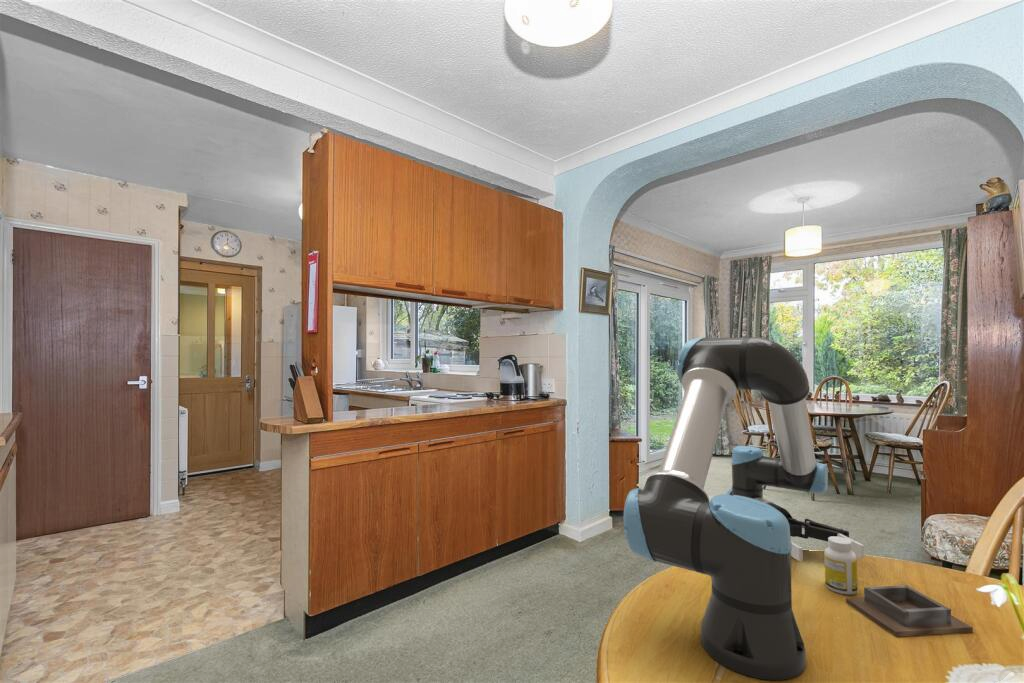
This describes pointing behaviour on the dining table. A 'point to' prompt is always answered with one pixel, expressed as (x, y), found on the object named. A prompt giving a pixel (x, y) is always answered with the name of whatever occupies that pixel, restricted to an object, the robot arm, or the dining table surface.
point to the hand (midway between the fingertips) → (832, 553)
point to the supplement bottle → (840, 566)
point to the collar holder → (907, 612)
